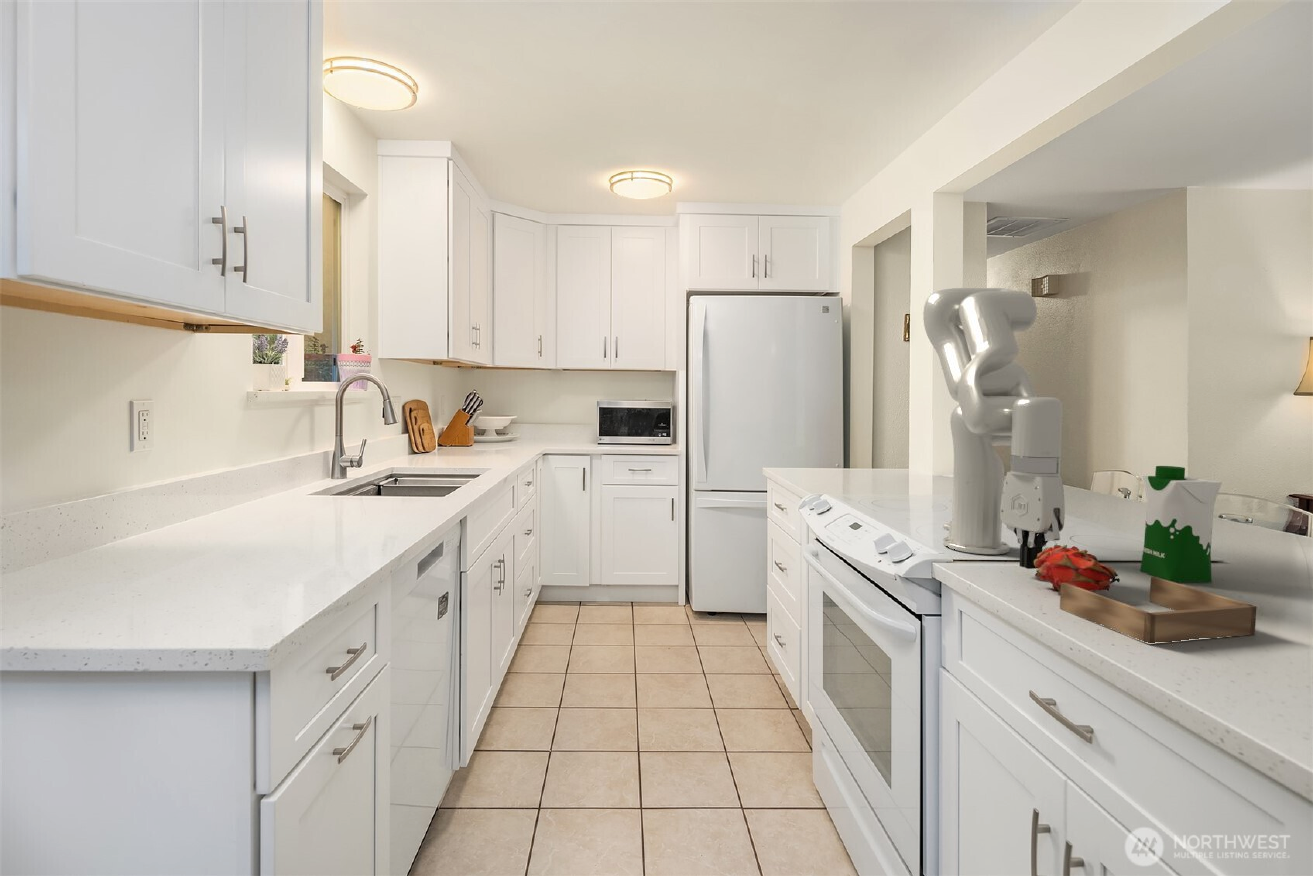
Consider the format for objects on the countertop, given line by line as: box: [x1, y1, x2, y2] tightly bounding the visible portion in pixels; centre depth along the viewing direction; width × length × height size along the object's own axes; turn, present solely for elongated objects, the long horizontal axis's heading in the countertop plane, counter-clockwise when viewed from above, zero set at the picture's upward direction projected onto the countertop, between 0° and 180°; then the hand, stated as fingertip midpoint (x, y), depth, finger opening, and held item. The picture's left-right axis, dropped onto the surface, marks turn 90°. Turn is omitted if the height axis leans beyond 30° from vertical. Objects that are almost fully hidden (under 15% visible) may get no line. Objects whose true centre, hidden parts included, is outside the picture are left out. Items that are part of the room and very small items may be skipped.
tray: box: [1059, 576, 1258, 643], centre depth 87 cm, size 14×18×4 cm
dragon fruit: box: [1033, 544, 1121, 593], centre depth 100 cm, size 8×8×12 cm
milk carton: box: [1140, 465, 1222, 583], centre depth 108 cm, size 9×9×20 cm
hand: (1030, 567), depth 109 cm, fingers closed
